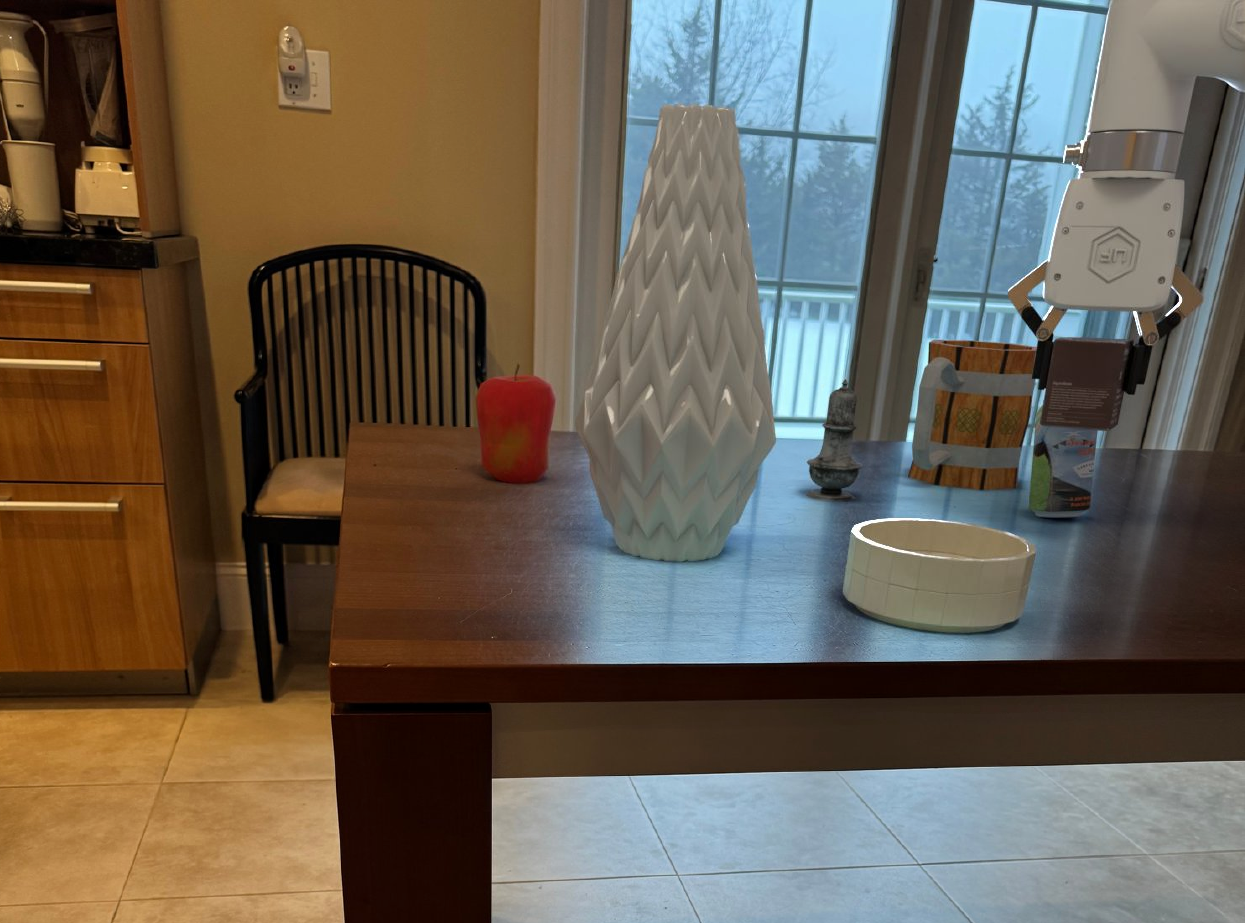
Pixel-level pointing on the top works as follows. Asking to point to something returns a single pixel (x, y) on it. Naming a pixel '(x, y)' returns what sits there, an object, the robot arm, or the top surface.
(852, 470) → the salt shaker
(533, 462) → the apple
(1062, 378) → the box
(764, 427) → the vase
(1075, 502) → the beverage can
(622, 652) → the top surface
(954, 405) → the mug
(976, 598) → the bowl
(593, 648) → the top surface
